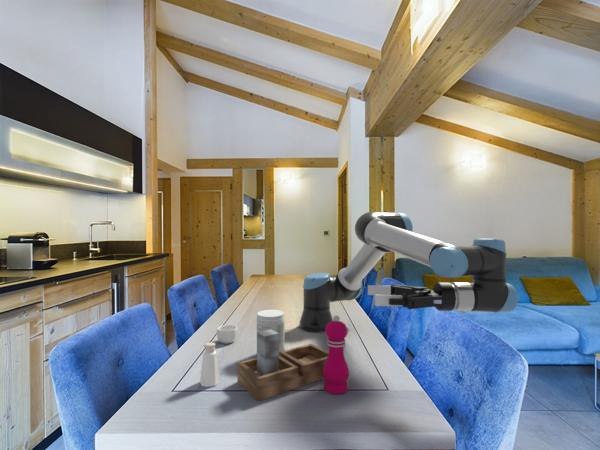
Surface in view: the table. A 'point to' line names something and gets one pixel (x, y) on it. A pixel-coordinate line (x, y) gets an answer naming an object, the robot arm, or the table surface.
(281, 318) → the supplement tub
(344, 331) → the pepper mill
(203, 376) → the pepper shaker
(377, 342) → the table surface
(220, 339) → the teacup
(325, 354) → the wooden condiment caddy
